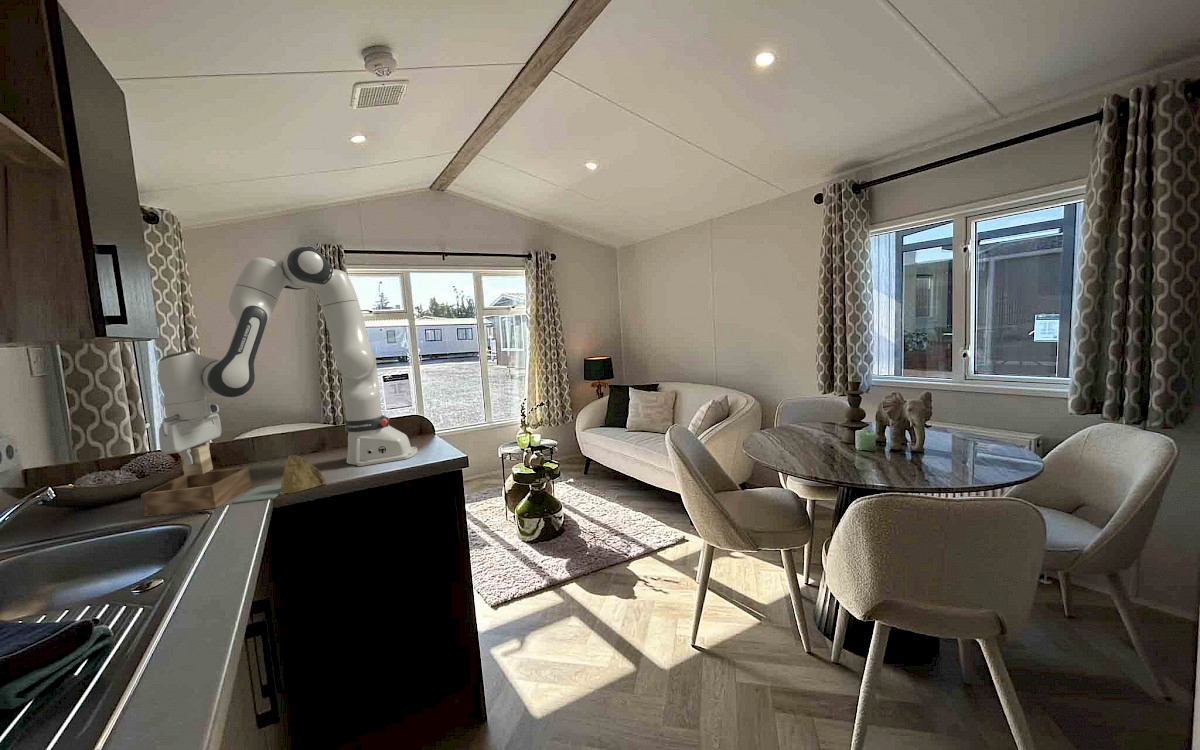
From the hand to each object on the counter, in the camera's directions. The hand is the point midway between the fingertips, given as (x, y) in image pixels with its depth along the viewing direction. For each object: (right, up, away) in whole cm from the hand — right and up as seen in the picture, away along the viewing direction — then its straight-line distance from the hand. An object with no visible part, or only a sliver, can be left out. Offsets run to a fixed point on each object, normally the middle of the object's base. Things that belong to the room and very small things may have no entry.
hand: (197, 461), depth 137 cm
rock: (+27, -9, +5) cm, 28 cm away
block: (0, -3, 0) cm, 3 cm away
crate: (0, -11, +1) cm, 11 cm away
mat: (+16, -10, +3) cm, 19 cm away
